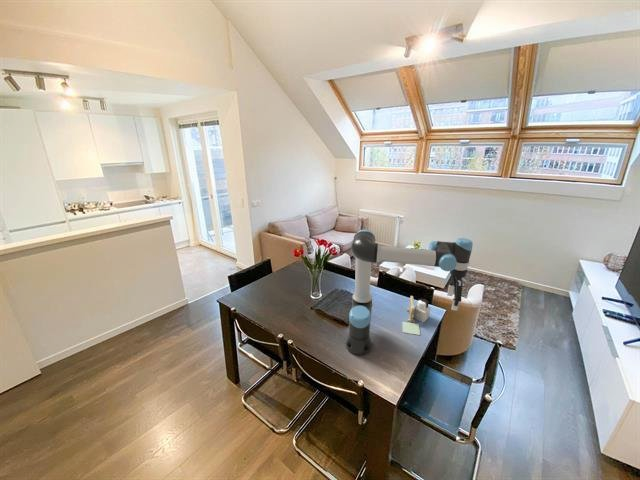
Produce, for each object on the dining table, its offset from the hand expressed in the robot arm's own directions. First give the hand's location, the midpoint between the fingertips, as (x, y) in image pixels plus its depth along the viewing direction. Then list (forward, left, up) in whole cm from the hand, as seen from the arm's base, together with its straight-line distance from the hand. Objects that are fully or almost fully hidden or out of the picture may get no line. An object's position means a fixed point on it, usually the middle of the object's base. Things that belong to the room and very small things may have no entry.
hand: (451, 302), depth 144 cm
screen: (-17, +21, -28) cm, 39 cm away
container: (-11, +21, -28) cm, 36 cm away
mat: (-18, +8, -28) cm, 34 cm away
